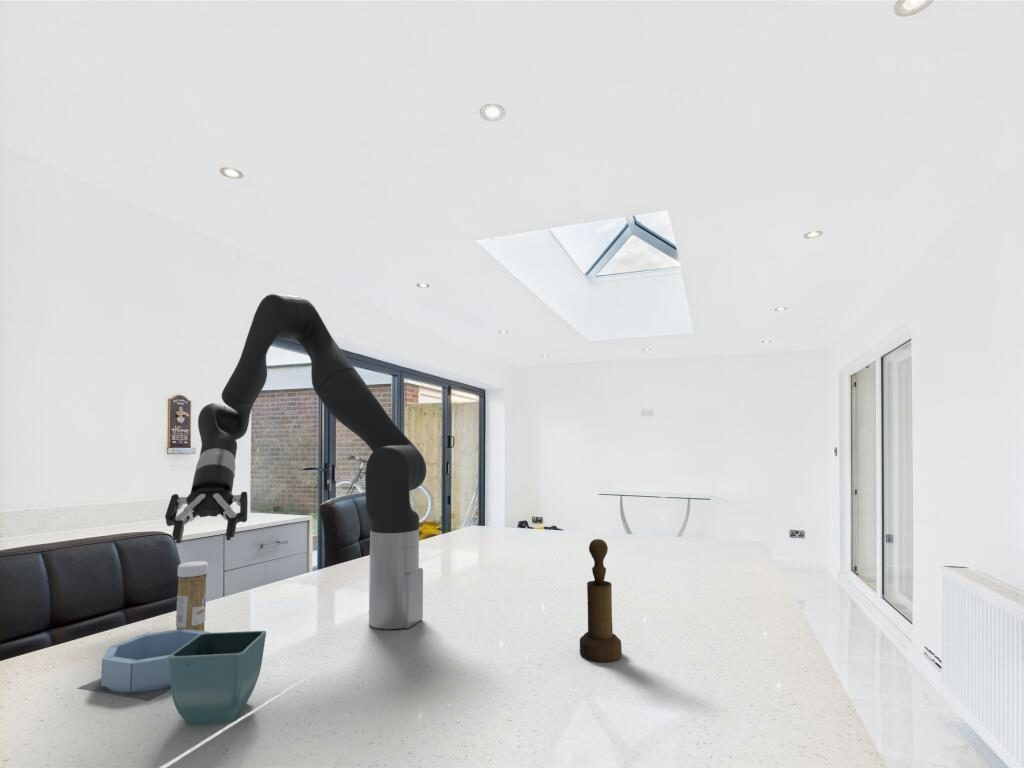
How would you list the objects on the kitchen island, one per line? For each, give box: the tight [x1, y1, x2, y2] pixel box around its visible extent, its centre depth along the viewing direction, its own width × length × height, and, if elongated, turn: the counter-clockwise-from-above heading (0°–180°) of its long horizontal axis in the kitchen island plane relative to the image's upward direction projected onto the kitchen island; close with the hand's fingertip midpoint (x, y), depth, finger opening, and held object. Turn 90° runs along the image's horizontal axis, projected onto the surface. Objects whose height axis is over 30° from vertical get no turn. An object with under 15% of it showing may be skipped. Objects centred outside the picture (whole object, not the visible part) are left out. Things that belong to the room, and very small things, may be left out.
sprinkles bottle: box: [175, 560, 209, 631], centre depth 98 cm, size 5×5×13 cm
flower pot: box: [168, 630, 267, 726], centre depth 72 cm, size 9×9×9 cm
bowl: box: [100, 629, 211, 693], centre depth 84 cm, size 13×13×4 cm
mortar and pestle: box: [579, 538, 623, 663], centre depth 92 cm, size 7×6×18 cm
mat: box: [77, 678, 171, 701], centre depth 84 cm, size 13×14×1 cm
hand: (203, 539), depth 109 cm, fingers open, 8 cm apart
